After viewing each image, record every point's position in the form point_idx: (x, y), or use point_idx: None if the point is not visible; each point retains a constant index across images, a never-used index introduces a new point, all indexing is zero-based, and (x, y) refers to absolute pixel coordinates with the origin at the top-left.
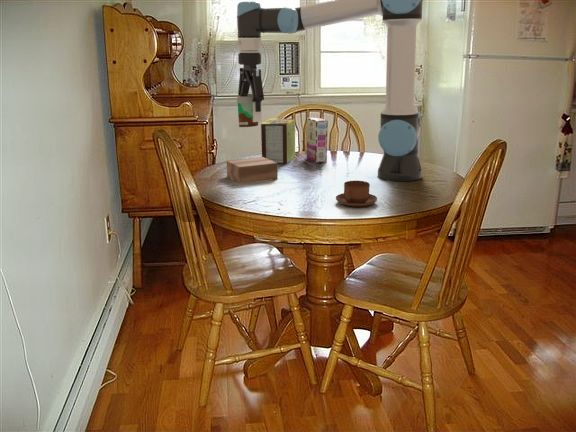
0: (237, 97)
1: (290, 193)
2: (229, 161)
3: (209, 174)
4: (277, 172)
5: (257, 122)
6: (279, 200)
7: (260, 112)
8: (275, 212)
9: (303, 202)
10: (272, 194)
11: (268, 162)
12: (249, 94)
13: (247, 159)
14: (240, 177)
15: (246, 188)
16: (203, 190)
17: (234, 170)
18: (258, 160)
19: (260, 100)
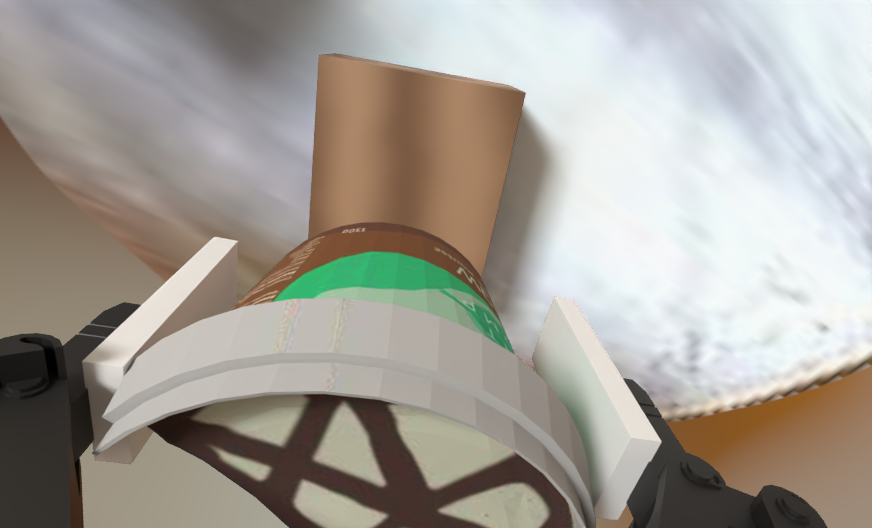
0: None
1: (732, 190)
2: None
3: (244, 282)
4: (515, 88)
5: (476, 275)
6: (760, 274)
7: (600, 357)
8: (833, 350)
9: (849, 226)
10: (685, 251)
11: (480, 126)
12: (132, 429)
13: (336, 176)
14: None
15: (547, 279)
16: None
17: None
18: (397, 141)
19: (737, 505)
